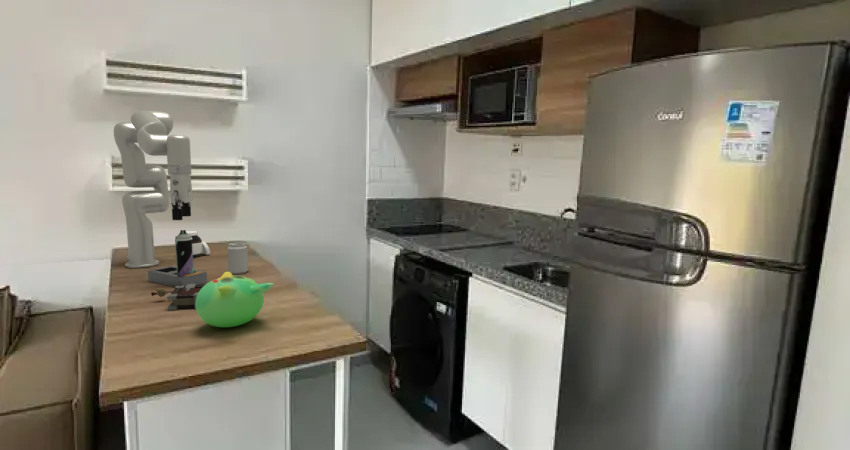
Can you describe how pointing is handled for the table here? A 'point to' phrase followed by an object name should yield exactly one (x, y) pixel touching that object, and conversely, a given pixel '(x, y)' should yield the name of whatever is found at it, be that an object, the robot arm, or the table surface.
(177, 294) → the dark layered knobbed device
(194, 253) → the spread jar
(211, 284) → the toy bird
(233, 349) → the table surface
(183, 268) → the spray can
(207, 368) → the table surface
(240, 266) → the can
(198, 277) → the grey rectangular grid frame
